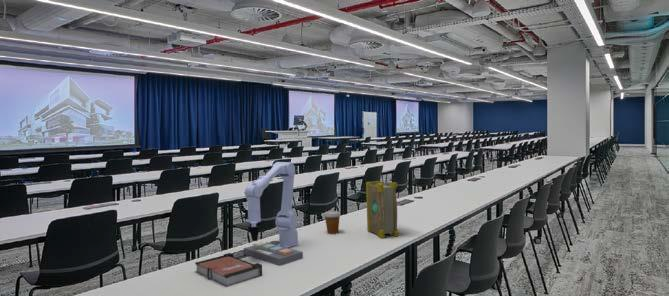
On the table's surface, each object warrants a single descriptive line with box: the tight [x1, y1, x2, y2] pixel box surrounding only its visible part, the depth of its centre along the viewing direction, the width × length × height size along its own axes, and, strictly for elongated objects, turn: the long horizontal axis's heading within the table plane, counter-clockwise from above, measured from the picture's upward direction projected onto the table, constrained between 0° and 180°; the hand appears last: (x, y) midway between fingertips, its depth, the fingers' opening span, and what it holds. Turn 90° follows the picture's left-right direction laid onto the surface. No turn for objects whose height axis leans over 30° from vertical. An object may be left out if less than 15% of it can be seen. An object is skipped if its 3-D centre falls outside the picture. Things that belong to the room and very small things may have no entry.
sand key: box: [253, 241, 267, 249], centre depth 207 cm, size 5×5×2 cm
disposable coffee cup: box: [324, 210, 341, 235], centre depth 243 cm, size 10×10×12 cm
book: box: [194, 252, 263, 288], centre depth 177 cm, size 26×18×5 cm
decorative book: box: [365, 180, 400, 239], centre depth 236 cm, size 20×11×30 cm, turn 21°
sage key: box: [261, 243, 276, 251], centre depth 202 cm, size 5×5×2 cm
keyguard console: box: [243, 242, 304, 267], centre depth 200 cm, size 14×28×3 cm, turn 46°
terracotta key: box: [278, 248, 293, 256], centre depth 193 cm, size 5×5×2 cm
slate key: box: [269, 246, 284, 253], centre depth 198 cm, size 5×5×2 cm
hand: (255, 238), depth 198 cm, fingers open, 7 cm apart
